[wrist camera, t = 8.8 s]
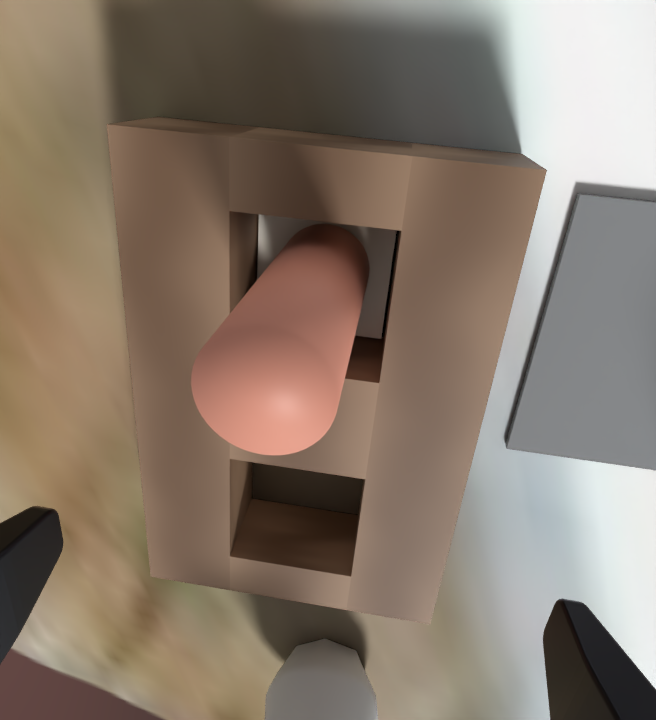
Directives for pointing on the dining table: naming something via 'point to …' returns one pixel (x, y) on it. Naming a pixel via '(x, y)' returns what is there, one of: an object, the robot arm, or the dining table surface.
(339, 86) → the dining table surface
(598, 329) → the mat
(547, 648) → the robot arm
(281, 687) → the salt shaker
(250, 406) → the peg
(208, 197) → the socket block
